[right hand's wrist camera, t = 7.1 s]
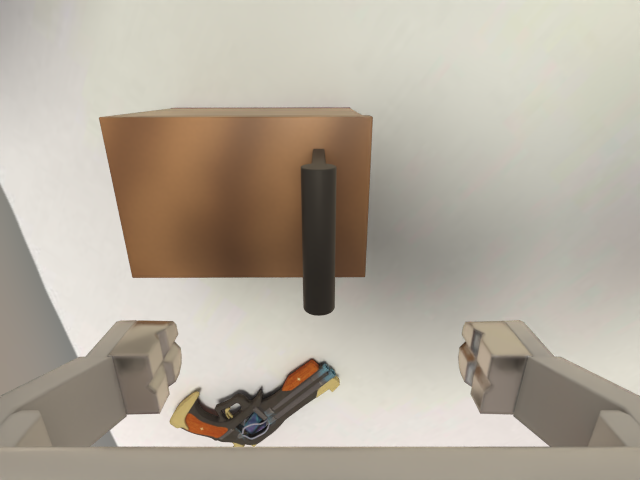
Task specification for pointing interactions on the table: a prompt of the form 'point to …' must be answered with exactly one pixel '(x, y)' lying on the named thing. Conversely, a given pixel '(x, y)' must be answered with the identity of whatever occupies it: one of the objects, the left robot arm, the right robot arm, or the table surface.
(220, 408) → the toy gun
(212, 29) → the table surface
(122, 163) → the lid
